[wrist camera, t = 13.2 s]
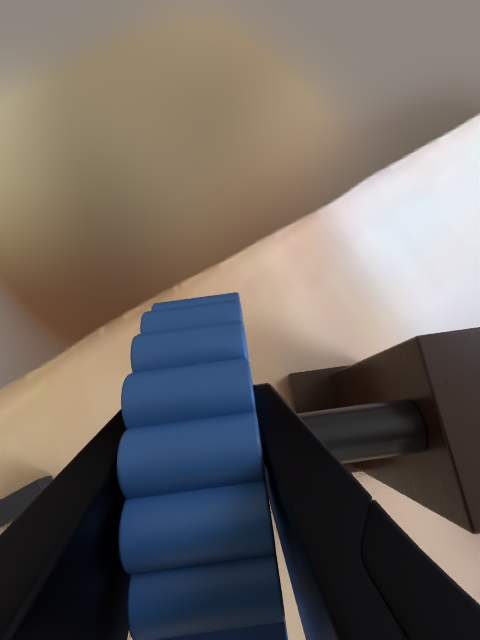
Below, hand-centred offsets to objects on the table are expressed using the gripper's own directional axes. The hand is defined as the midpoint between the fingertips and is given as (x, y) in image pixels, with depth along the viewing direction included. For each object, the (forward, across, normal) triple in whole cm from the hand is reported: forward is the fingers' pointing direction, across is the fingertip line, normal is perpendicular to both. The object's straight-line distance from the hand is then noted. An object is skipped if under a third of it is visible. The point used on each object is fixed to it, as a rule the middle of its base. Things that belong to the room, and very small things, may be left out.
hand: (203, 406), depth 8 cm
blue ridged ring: (+1, 0, +3) cm, 3 cm away
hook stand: (+8, -2, +9) cm, 12 cm away
